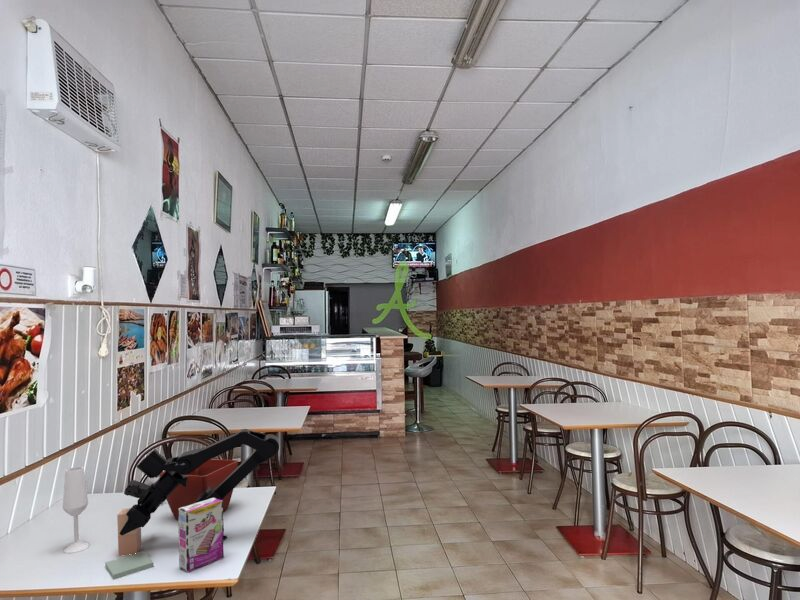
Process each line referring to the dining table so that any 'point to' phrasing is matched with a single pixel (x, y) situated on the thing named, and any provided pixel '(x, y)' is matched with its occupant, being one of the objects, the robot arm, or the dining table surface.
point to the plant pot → (201, 484)
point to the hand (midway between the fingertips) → (124, 529)
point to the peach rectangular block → (127, 536)
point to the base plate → (129, 564)
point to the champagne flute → (75, 502)
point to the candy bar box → (200, 533)
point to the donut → (152, 481)
